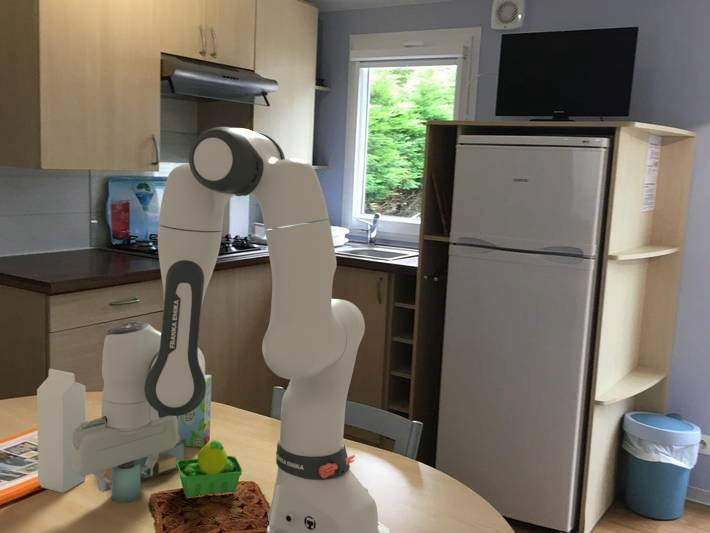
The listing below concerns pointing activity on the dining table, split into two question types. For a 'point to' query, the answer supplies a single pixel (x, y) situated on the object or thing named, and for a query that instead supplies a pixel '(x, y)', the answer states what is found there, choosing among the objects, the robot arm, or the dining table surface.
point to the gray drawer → (165, 461)
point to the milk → (58, 429)
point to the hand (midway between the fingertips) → (126, 482)
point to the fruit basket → (209, 471)
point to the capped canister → (126, 482)
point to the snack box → (197, 421)
